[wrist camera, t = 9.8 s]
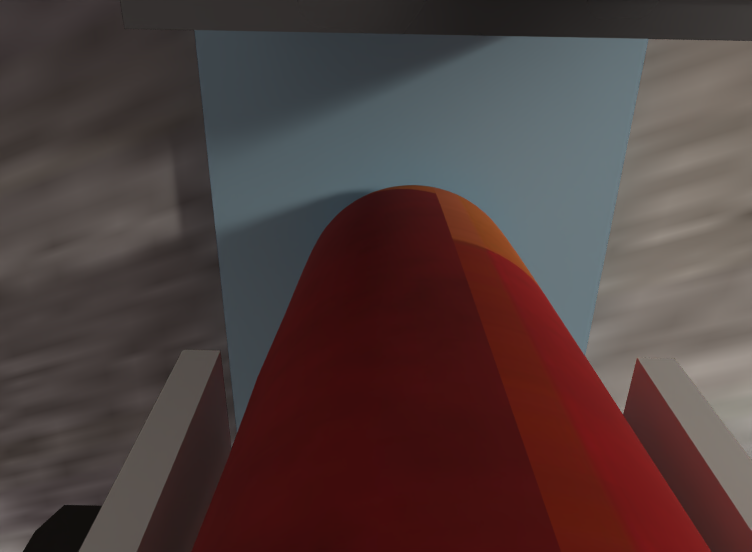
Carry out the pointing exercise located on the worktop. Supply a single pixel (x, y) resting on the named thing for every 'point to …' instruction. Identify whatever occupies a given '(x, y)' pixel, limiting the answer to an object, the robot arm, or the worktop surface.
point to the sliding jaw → (455, 17)
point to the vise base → (409, 153)
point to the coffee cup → (433, 407)
